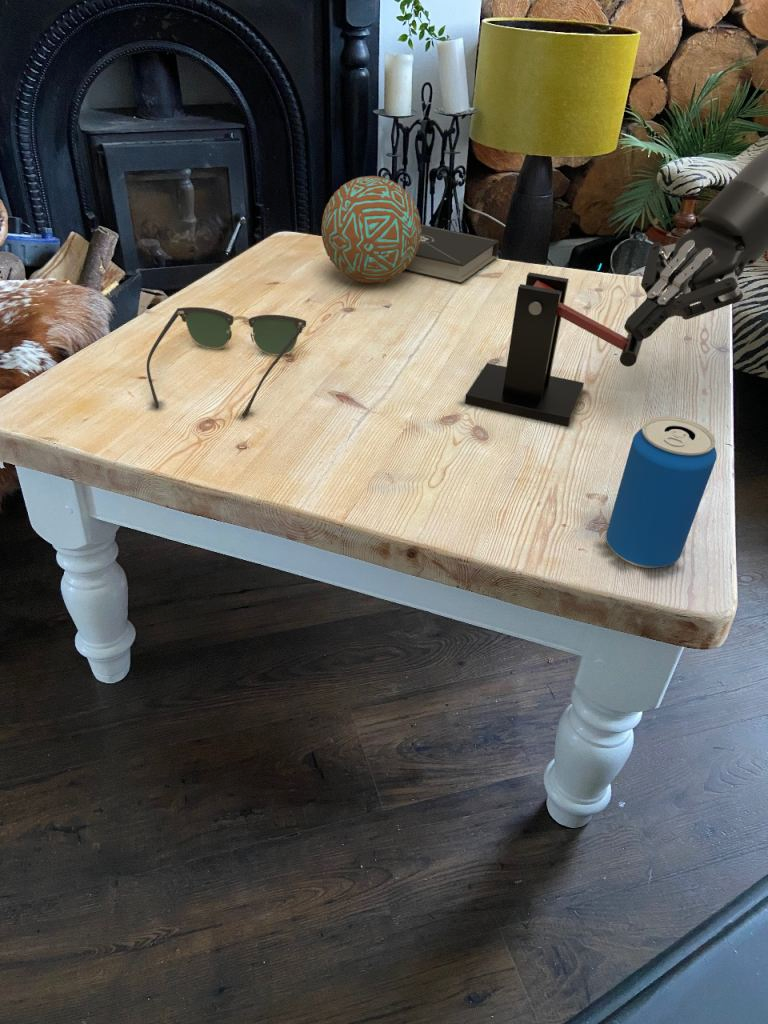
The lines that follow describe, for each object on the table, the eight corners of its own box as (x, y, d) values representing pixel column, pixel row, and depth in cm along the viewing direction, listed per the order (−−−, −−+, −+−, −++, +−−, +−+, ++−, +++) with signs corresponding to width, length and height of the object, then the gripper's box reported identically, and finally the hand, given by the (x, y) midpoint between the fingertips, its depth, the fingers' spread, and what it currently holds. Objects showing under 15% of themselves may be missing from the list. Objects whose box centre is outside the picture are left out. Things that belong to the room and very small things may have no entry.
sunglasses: (128, 405, 83) (120, 364, 80) (183, 341, 96) (178, 304, 93) (272, 421, 81) (269, 380, 78) (308, 354, 94) (307, 317, 91)
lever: (635, 349, 82) (648, 331, 81) (628, 372, 78) (641, 353, 76) (530, 293, 83) (541, 274, 82) (518, 312, 79) (528, 292, 77)
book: (497, 257, 126) (500, 239, 124) (461, 284, 116) (463, 264, 114) (386, 234, 134) (387, 216, 133) (343, 256, 124) (343, 238, 122)
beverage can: (687, 543, 67) (729, 428, 59) (667, 584, 62) (710, 465, 55) (617, 518, 69) (650, 405, 62) (593, 555, 65) (625, 438, 58)
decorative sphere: (377, 306, 108) (380, 197, 99) (302, 280, 115) (298, 176, 106) (437, 279, 117) (445, 178, 108) (364, 256, 124) (366, 160, 115)
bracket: (582, 391, 89) (607, 278, 81) (568, 426, 82) (593, 307, 74) (485, 371, 92) (500, 260, 84) (464, 403, 86) (478, 287, 77)
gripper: (820, 250, 73) (685, 381, 76) (724, 212, 82) (609, 330, 86) (800, 197, 68) (657, 340, 72) (701, 163, 77) (579, 290, 81)
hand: (631, 334), depth 79 cm, fingers closed
